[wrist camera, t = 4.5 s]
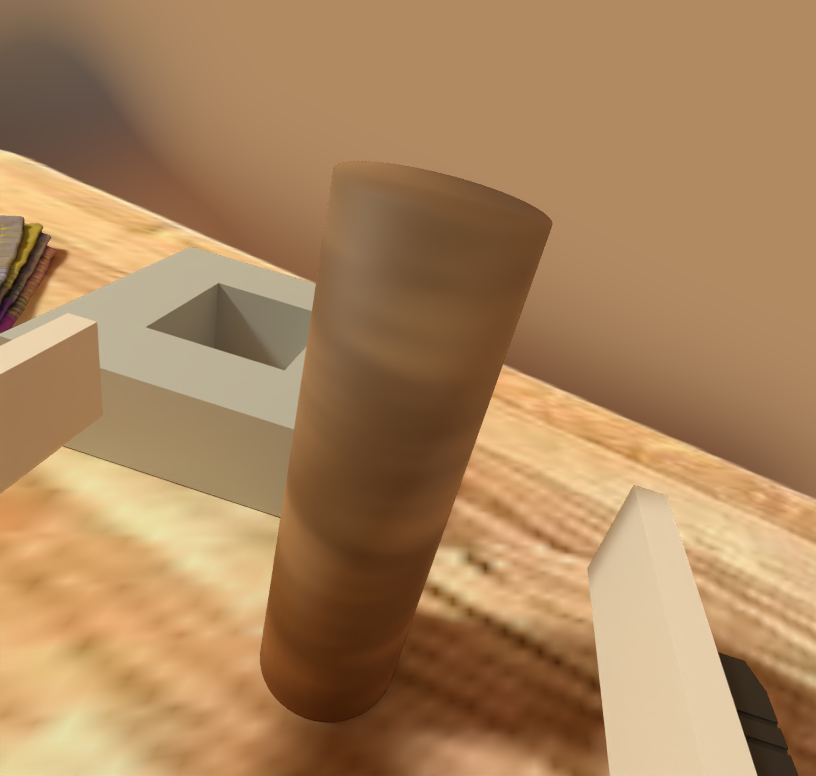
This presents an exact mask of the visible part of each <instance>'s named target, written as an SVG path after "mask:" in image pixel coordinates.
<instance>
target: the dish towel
mask: <svg viewBox="0 0 816 776" xmlns="http://www.w3.org/2000/svg"><path fill="white" fill-rule="evenodd" d="M42 229H43V226H42V225H41V224H39V223H31V224H26V223H24V218H23V217H21V216H0V333H3V332H5V331H7V330H9V329H11V328H12V326H13V324H14V323H15V322H16V320H17V319H18V318H19V316H20V315H21V313H22V312H23V310H24V308H25V306H26V305H27V303H28V301H29V299H30V298H31V296H32V294H33V292H34V291H35V289H36V288H37V287H38V285H39V284H40V282H41V281H42V279H43V277H44V275H45V274H46V273H47V269H48V268H49V267H50V259H51V258H53V257H54V255H55V254H56V250H55V249H53V248H51V247H49V246H47V244H48V242H49V240H50V239H51V236H50V235H48V234H44V233H42Z"/></svg>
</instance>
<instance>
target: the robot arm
mask: <svg viewBox="0 0 816 776" xmlns="http://www.w3.org/2000/svg"><path fill="white" fill-rule="evenodd" d="M101 416H103V412H102V395H101V377H100V360H99V343H98V326H97V322H96V321H93V320H89V319H86V318H83V317H80V316H76V315H73V314H70V313H67V314H65V315H63V316H61V317H59V318H56V319H54V320H52V321H50V322H48V323H46V324H44V325H42V326H40V327H38V328H36V329H34V330H32V331H30V332H28V333H26V334H24V335H22V336H20V337H17V338H15V339H13V340H11V341H9V342H7V343H5V344H3V345H1V346H0V494H1V493H2V492H3V491H5V490H6V489H7V488H8V487H10V486H11V485H12V484H14V483H15V482H16V481H18V480H19V479H20V478H22V477H23V476H24V475H26V474H27V473H28V472H29V471H31V470H32V469H33V468H35V467H36V466H37V465H39V464H40V463H41V462H43V461H44V460H45V459H46V458H48V457H49V456H50V455H52V454H53V453H54V452H56V451H57V450H58V449H60V448H61V447H62V446H63V445H65V444H66V443H67V442H69V441H70V440H71V439H73V438H74V437H75V436H77V435H78V434H79V433H81V432H82V431H83V430H84V429H86V428H87V427H88V426H90V425H91V424H92V423H94V422H95V421H96V420H98V419H99V418H100V417H101ZM588 577H589V587H590V596H591V605H592V614H593V624H594V633H595V642H596V651H597V661H598V670H599V679H600V688H601V697H602V707H603V716H604V725H605V734H606V744H607V753H608V762H609V771H610V776H798V774H797V771H796V768H795V766H794V763H793V761H792V758H791V756H790V755H788V754H787V750H788V748H787V745H786V742H785V740H784V737H783V734H782V732H781V729H779V728H777V724H778V721H777V719H776V716H775V713H774V711H773V708H772V706H771V703H770V700H769V698H768V695H767V692H766V691H765V689H764V688H763V686H762V685H761V684H760V682H759V681H758V679H757V678H756V676H755V675H754V674H753V672H752V671H751V669H750V668H749V667H748V665H747V664H746V662H745V661H743V660H740V659H737V658H734V657H730V656H727V655H724V654H721V653H718V652H717V649H716V646H715V642H714V639H713V636H712V633H711V630H710V627H709V624H708V621H707V618H706V614H705V611H704V608H703V605H702V602H701V599H700V596H699V593H698V590H697V587H696V583H695V580H694V577H693V574H692V571H691V568H690V565H689V562H688V559H687V555H686V552H685V549H684V546H683V543H682V540H681V537H680V534H679V531H678V527H677V524H676V521H675V518H674V515H673V512H672V509H671V506H670V503H669V500H668V496H667V495H664V494H661V493H658V492H655V491H651V490H648V489H645V488H641V487H638V486H635V485H634V486H633V487H632V489H631V491H630V493H629V495H628V496H627V498H626V500H625V502H624V504H623V505H622V507H621V509H620V511H619V513H618V514H617V516H616V518H615V520H614V522H613V523H612V525H611V527H610V529H609V531H608V532H607V534H606V536H605V538H604V540H603V541H602V543H601V545H600V547H599V549H598V550H597V552H596V554H595V556H594V557H593V559H592V561H591V563H590V565H589V566H588Z"/></svg>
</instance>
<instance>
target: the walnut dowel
mask: <svg viewBox="0 0 816 776" xmlns="http://www.w3.org/2000/svg"><path fill="white" fill-rule="evenodd" d="M551 227H552V221H551V220H550V218H549V217H548V216H547V215H546V214H545V213H543V212H542V211H540V210H539V209H537V208H535V207H534V206H532V205H530V204H528V203H526V202H524V201H522V200H520V199H517V198H515V197H513V196H510V195H508V194H505V193H503V192H500V191H498V190H495V189H492V188H489V187H486V186H483V185H480V184H477V183H474V182H471V181H467V180H464V179H461V178H457V177H453V176H450V175H445V174H441V173H437V172H433V171H429V170H424V169H419V168H414V167H409V166H402V165H397V164H390V163H381V162H369V161H368V162H367V161H350V162H343V163H340V164H337V165H336V166H335V167H334V168H333V174H332V181H331V188H330V194H329V201H328V207H327V214H326V220H325V228H324V234H323V240H322V247H321V254H320V260H319V267H318V273H317V281H316V287H315V293H314V300H313V307H312V313H311V320H310V326H309V333H308V340H307V346H306V353H305V359H304V366H303V373H302V379H301V386H300V393H299V399H298V406H297V412H296V419H295V426H294V432H293V439H292V446H291V452H290V459H289V465H288V472H287V479H286V485H285V492H284V499H283V505H282V512H281V518H280V525H279V532H278V538H277V545H276V551H275V558H274V565H273V571H272V578H271V585H270V591H269V598H268V604H267V611H266V618H265V624H264V631H263V638H262V644H261V652H260V665H261V670H262V674H263V677H264V680H265V682H266V684H267V686H268V688H269V690H270V691H271V693H272V694H273V696H274V697H275V698H276V699H277V700H278V701H279V702H280V703H281V704H282V705H283V706H285V707H286V708H287V709H289V710H290V711H292V712H294V713H295V714H297V715H300V716H302V717H304V718H308V719H311V720H316V721H323V722H335V721H342V720H346V719H350V718H353V717H355V716H358V715H360V714H362V713H364V712H365V711H367V710H369V709H370V708H371V707H372V706H373V705H375V704H376V703H377V702H378V701H379V700H380V698H381V697H382V696H383V694H384V693H385V691H386V690H387V688H388V686H389V684H390V681H391V678H392V676H393V673H394V670H395V667H396V664H397V662H398V659H399V656H400V653H401V650H402V647H403V645H404V642H405V639H406V636H407V633H408V631H409V628H410V625H411V622H412V619H413V616H414V614H415V611H416V608H417V605H418V602H419V600H420V597H421V594H422V591H423V588H424V585H425V583H426V580H427V577H428V574H429V571H430V569H431V566H432V563H433V560H434V557H435V554H436V552H437V549H438V546H439V543H440V540H441V538H442V535H443V532H444V529H445V526H446V523H447V521H448V518H449V515H450V512H451V509H452V506H453V504H454V501H455V498H456V495H457V492H458V490H459V487H460V484H461V481H462V478H463V475H464V473H465V470H466V467H467V464H468V461H469V459H470V456H471V453H472V450H473V447H474V444H475V442H476V439H477V436H478V433H479V430H480V428H481V425H482V422H483V419H484V416H485V413H486V411H487V408H488V405H489V402H490V399H491V397H492V394H493V391H494V388H495V385H496V382H497V380H498V377H499V374H500V371H501V368H502V366H503V363H504V360H505V357H506V354H507V351H508V348H509V345H510V343H511V340H512V337H513V334H514V332H515V329H516V326H517V323H518V320H519V318H520V315H521V312H522V309H523V306H524V303H525V301H526V298H527V295H528V292H529V289H530V287H531V284H532V281H533V278H534V275H535V272H536V270H537V267H538V264H539V261H540V258H541V256H542V253H543V250H544V247H545V244H546V241H547V239H548V236H549V233H550V230H551Z"/></svg>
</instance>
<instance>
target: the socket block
mask: <svg viewBox="0 0 816 776" xmlns="http://www.w3.org/2000/svg"><path fill="white" fill-rule="evenodd" d="M315 287H316V284H315V283H312V282H308V281H305V280H302V279H298V278H295V277H291V276H288V275H285V274H281V273H278V272H275V271H271V270H268V269H265V268H261V267H258V266H255V265H251V264H248V263H244V262H241V261H238V260H234V259H231V258H228V257H224V256H221V255H218V254H214V253H211V252H207V251H204V250H201V249H197V248H194V247H189V248H187V249H185V250H183V251H180V252H178V253H176V254H174V255H172V256H169V257H167V258H165V259H163V260H161V261H158V262H156V263H154V264H152V265H150V266H148V267H145V268H143V269H141V270H139V271H137V272H134V273H132V274H130V275H128V276H126V277H123V278H121V279H119V280H117V281H115V282H112V283H110V284H108V285H106V286H104V287H101V288H99V289H97V290H95V291H93V292H90V293H88V294H86V295H84V296H82V297H79V298H77V299H75V300H73V301H71V302H68V303H66V304H64V305H62V306H60V307H57V308H55V309H53V310H51V311H49V312H46V313H44V314H42V315H40V316H38V317H35V318H33V319H31V320H29V321H27V322H25V323H22V324H20V325H18V326H16V327H14V328H11V329H9V330H7V331H5V332H3V333H0V346H1V345H3V344H5V343H7V342H9V341H11V340H13V339H15V338H17V337H20V336H22V335H24V334H26V333H28V332H30V331H32V330H34V329H36V328H38V327H40V326H42V325H44V324H46V323H48V322H50V321H52V320H54V319H56V318H59V317H61V316H63V315H65V314H67V313H70V314H73V315H76V316H80V317H83V318H86V319H89V320H93V321H96V322H97V326H98V343H99V360H100V377H101V395H102V412H103V416H101V417H100V418H99V419H98V420H96V421H95V422H94V423H92V424H91V425H90V426H88V427H87V428H86V429H84V430H83V431H82V432H81V433H79V434H78V435H77V436H75V437H74V438H73V439H71V440H70V441H69V442H67V443H66V444H65V445H63V446H65V447H68V448H71V449H74V450H77V451H80V452H83V453H87V454H90V455H93V456H96V457H99V458H102V459H105V460H108V461H111V462H114V463H117V464H120V465H123V466H126V467H129V468H132V469H135V470H138V471H141V472H144V473H147V474H150V475H153V476H156V477H159V478H162V479H165V480H169V481H172V482H175V483H178V484H181V485H184V486H187V487H190V488H193V489H196V490H199V491H202V492H205V493H208V494H211V495H214V496H217V497H220V498H223V499H226V500H229V501H232V502H235V503H238V504H241V505H244V506H247V507H251V508H254V509H257V510H260V511H263V512H266V513H269V514H272V515H275V516H278V517H281V512H282V505H283V499H284V492H285V485H286V479H287V472H288V465H289V459H290V452H291V446H292V439H293V432H294V426H295V419H296V412H297V406H298V399H299V393H300V386H301V379H302V373H303V366H304V359H305V353H306V346H307V340H308V333H309V326H310V320H311V313H312V307H313V300H314V293H315Z"/></svg>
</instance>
